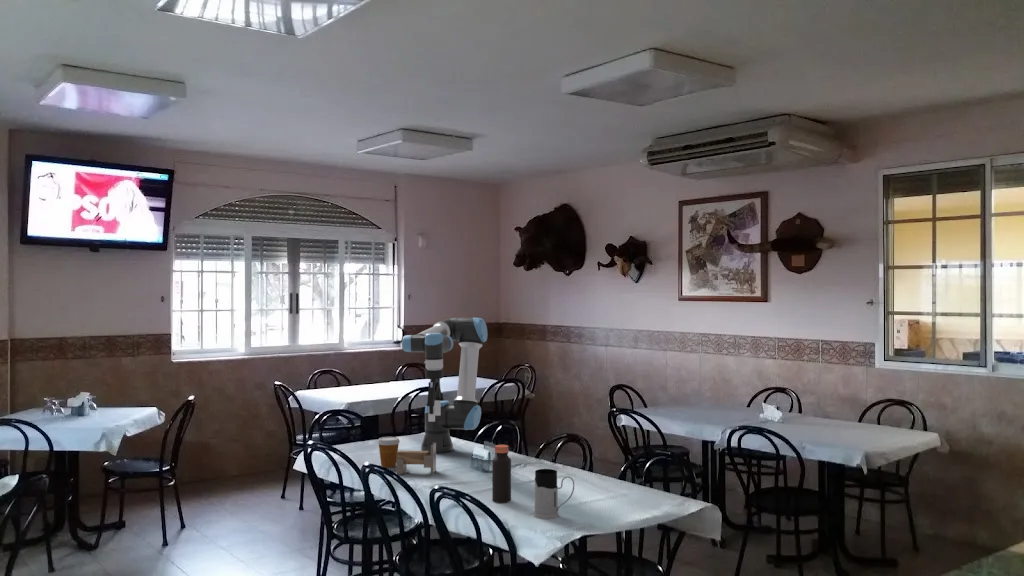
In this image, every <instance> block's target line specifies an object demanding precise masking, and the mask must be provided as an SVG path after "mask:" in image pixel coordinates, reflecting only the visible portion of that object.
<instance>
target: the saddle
mask: <svg viewBox="0 0 1024 576" xmlns="http://www.w3.org/2000/svg"><path fill="white" fill-rule="evenodd" d="M407 465H408V464H404V459H396V466H395V467H396V471H395V473H397V474H400V476H401V475H404V474H406V472H407Z"/></svg>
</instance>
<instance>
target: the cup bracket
mask: <svg viewBox="0 0 1024 576" xmlns="http://www.w3.org/2000/svg"><path fill="white" fill-rule="evenodd" d="M423 468H424V469H427V468H428V469H430V476H434V475H435V473H436V472H437V453H436V443H433V444H432V445H431V452H429V455H424V465H423ZM435 471H436V472H435ZM433 474H434V475H433Z"/></svg>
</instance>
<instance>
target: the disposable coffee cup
mask: <svg viewBox="0 0 1024 576" xmlns="http://www.w3.org/2000/svg"><path fill="white" fill-rule="evenodd" d="M399 439H400V438H399V437H396V436H382V437H379V438H378V440H377V444H378V449H379V458H380V464H381V465H380V466H381V467H382V466H383V467H382V468H385V467H386V468H389V467H390V468H394V467H396V459H397V451H398V450H399V446H400V445H399V444H400V440H399Z"/></svg>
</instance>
